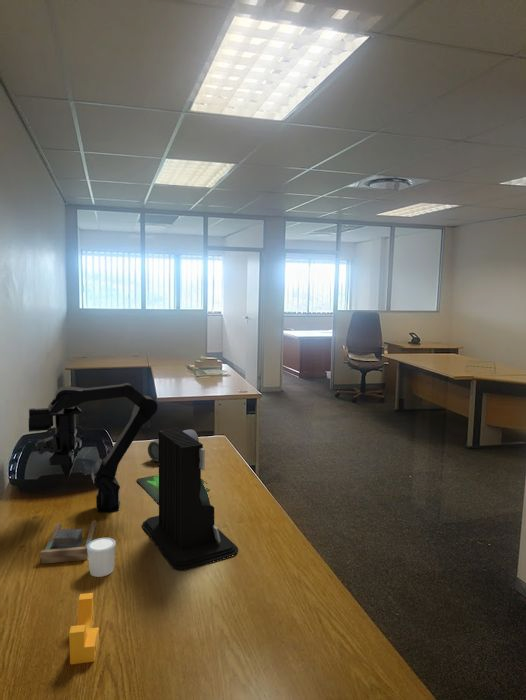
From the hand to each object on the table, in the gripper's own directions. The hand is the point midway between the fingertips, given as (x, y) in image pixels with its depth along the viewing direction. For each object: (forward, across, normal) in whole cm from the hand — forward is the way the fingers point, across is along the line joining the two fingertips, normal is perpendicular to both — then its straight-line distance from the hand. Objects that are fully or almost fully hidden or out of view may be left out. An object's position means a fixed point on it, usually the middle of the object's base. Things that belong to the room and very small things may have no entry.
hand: (66, 477), depth 150 cm
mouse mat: (+13, -17, +34) cm, 40 cm away
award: (+12, +21, +36) cm, 44 cm away
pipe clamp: (+12, +59, +14) cm, 62 cm away
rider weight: (+12, +21, +4) cm, 24 cm away
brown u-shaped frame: (+12, +18, +4) cm, 22 cm away
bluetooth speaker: (+12, -51, +34) cm, 63 cm away
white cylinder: (+12, +34, +14) cm, 39 cm away
